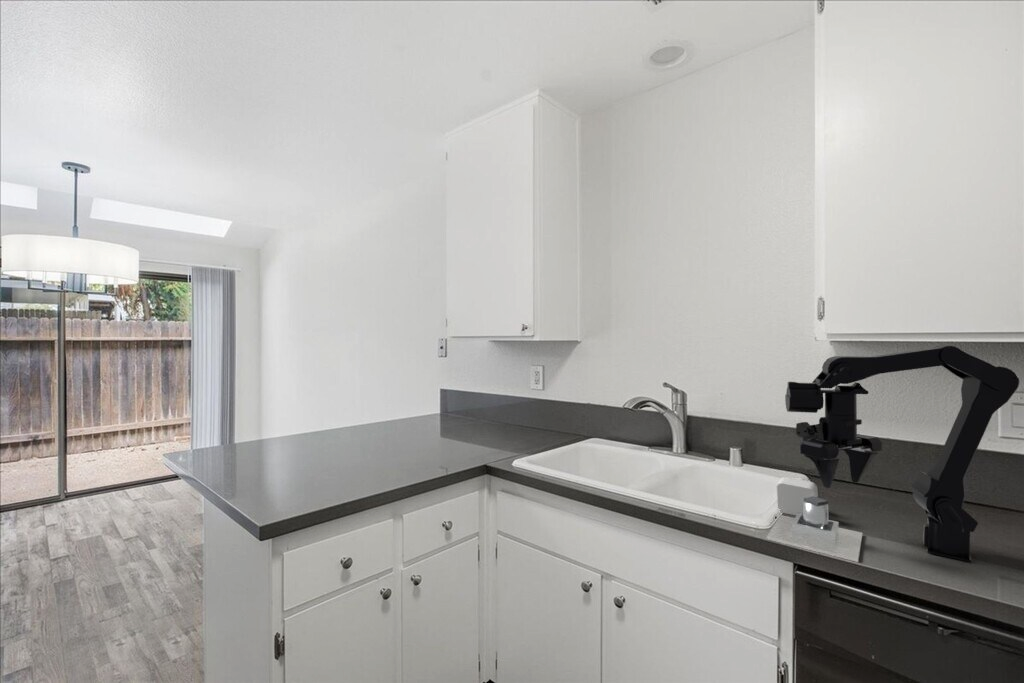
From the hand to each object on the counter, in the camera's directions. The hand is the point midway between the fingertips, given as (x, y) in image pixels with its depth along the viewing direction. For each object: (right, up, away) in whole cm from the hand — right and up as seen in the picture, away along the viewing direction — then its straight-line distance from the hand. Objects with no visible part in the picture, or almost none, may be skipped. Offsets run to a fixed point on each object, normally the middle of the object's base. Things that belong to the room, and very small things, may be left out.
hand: (841, 485), depth 103 cm
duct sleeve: (-6, -11, 0) cm, 12 cm away
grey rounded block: (0, -12, +16) cm, 20 cm away
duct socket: (-6, -12, 0) cm, 13 cm away
